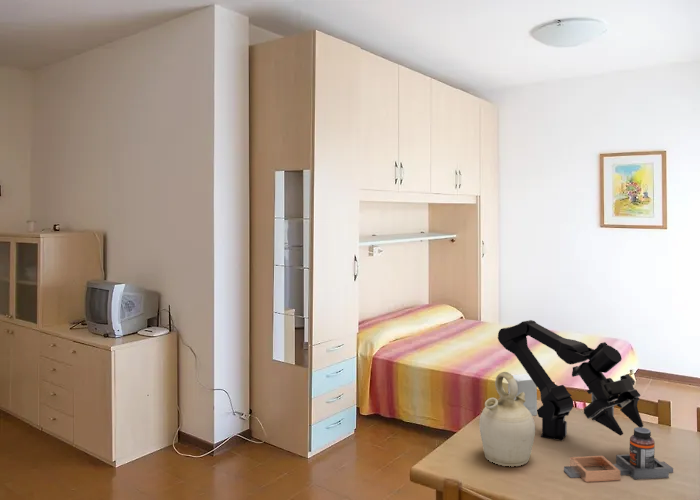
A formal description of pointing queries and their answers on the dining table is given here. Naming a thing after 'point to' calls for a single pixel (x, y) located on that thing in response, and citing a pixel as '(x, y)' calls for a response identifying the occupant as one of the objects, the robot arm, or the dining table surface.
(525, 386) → the supplement box
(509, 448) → the jug
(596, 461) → the socket rail
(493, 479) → the dining table surface
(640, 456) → the supplement bottle
